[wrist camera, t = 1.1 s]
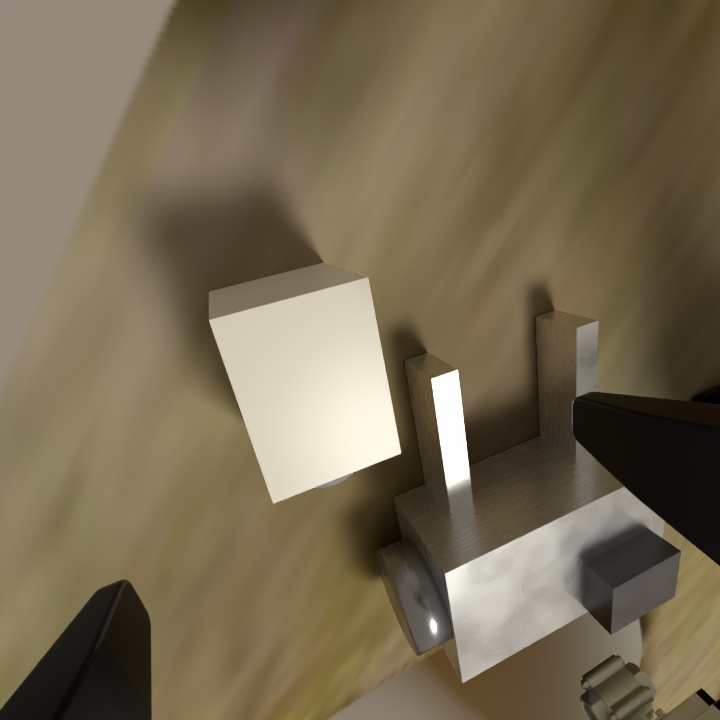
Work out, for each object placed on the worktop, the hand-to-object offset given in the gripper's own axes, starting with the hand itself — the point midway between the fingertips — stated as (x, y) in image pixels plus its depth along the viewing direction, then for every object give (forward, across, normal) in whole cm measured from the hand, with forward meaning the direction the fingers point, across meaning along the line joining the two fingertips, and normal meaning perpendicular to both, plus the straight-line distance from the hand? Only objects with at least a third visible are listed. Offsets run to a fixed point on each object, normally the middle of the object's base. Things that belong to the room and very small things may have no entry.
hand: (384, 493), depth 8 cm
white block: (+10, 0, 0) cm, 10 cm away
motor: (+10, -8, +9) cm, 15 cm away
